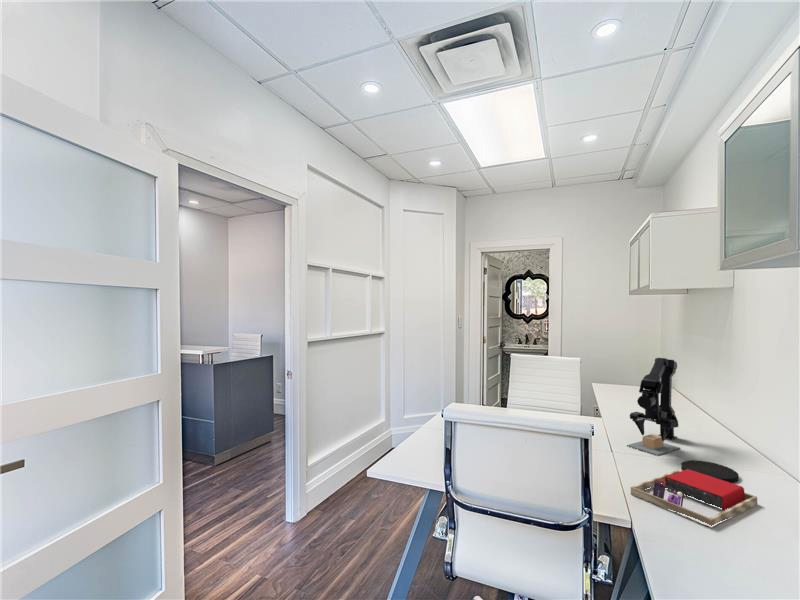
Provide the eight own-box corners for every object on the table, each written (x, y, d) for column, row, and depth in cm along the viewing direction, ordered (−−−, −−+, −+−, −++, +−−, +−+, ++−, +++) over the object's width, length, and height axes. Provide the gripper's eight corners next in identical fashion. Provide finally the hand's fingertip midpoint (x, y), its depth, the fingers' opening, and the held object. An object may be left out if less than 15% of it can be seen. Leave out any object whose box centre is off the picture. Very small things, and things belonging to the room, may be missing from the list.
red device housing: (665, 490, 141) (664, 476, 141) (686, 481, 148) (686, 468, 148) (723, 512, 125) (723, 496, 125) (744, 501, 132) (744, 487, 132)
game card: (653, 481, 133) (682, 492, 125) (662, 483, 135) (690, 494, 127) (650, 501, 132) (679, 513, 124) (658, 503, 134) (687, 515, 126)
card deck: (642, 446, 183) (642, 436, 183) (652, 443, 187) (652, 433, 187) (653, 449, 179) (653, 439, 179) (663, 446, 182) (663, 436, 182)
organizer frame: (677, 476, 151) (677, 470, 151) (757, 504, 129) (757, 496, 130) (630, 494, 138) (630, 487, 138) (711, 528, 116) (711, 520, 116)
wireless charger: (742, 474, 153) (741, 469, 153) (734, 488, 141) (733, 483, 141) (687, 461, 167) (687, 457, 167) (676, 473, 155) (675, 468, 155)
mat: (649, 440, 193) (649, 438, 193) (680, 448, 180) (680, 447, 180) (627, 446, 185) (626, 445, 185) (657, 456, 172) (657, 454, 172)
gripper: (683, 406, 178) (684, 440, 178) (642, 398, 195) (643, 429, 195) (669, 410, 173) (670, 445, 173) (628, 401, 190) (629, 433, 189)
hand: (652, 437), depth 183 cm, fingers open, 9 cm apart
